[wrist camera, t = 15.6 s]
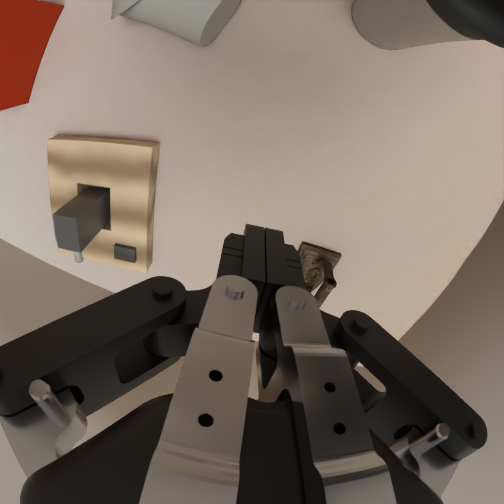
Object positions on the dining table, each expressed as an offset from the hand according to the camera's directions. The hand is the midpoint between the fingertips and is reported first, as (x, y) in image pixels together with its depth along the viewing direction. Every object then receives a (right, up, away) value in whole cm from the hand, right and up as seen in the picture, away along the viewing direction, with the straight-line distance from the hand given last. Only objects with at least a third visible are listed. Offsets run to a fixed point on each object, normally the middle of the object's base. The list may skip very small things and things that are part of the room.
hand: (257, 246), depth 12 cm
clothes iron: (+9, -4, +34) cm, 36 cm away
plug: (-24, +6, +28) cm, 37 cm away
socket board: (-24, +8, +28) cm, 37 cm away
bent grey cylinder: (-10, +35, +10) cm, 38 cm away
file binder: (-36, +32, +13) cm, 50 cm away
